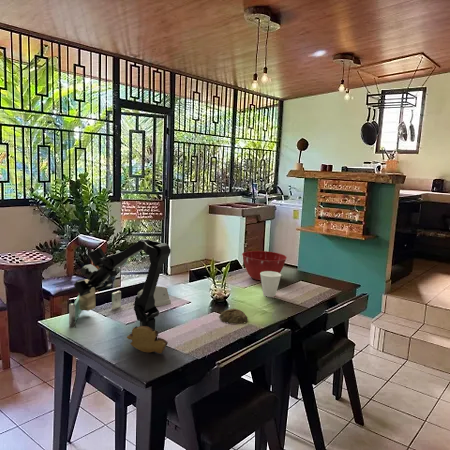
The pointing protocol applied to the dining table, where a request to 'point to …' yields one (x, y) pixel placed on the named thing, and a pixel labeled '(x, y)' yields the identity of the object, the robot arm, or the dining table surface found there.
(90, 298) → the block
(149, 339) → the wooden carving
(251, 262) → the mixing bowl
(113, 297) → the frame
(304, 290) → the dining table surface
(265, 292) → the cup
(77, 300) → the green upright panel
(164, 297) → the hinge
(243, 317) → the brown dome mound
